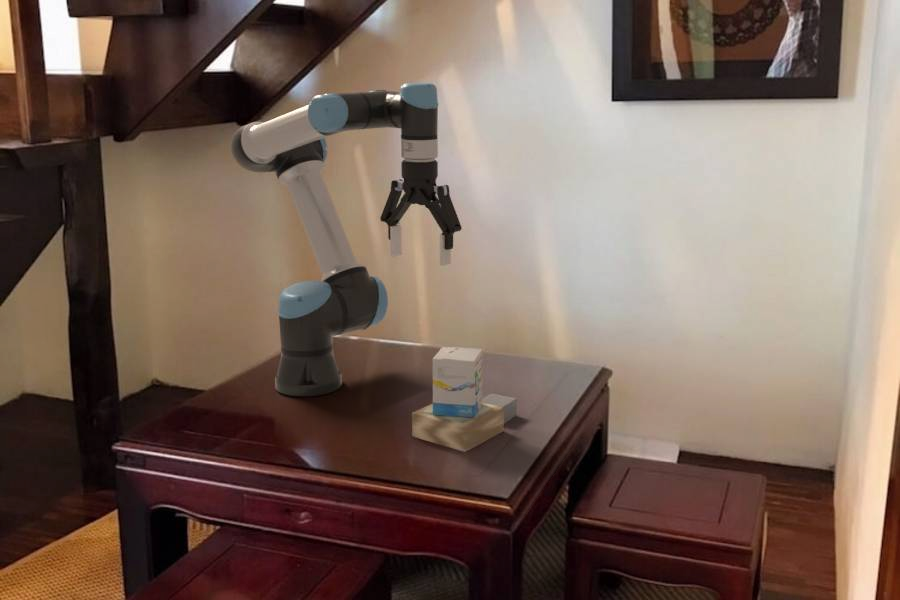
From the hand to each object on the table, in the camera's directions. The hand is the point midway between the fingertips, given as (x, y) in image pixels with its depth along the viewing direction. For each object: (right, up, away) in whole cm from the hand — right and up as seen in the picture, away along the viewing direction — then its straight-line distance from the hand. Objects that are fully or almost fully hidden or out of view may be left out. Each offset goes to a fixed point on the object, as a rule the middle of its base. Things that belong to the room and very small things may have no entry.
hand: (420, 259), depth 211 cm
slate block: (+16, -33, -4) cm, 37 cm away
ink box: (+8, -30, -14) cm, 34 cm away
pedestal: (+8, -35, -13) cm, 38 cm away
